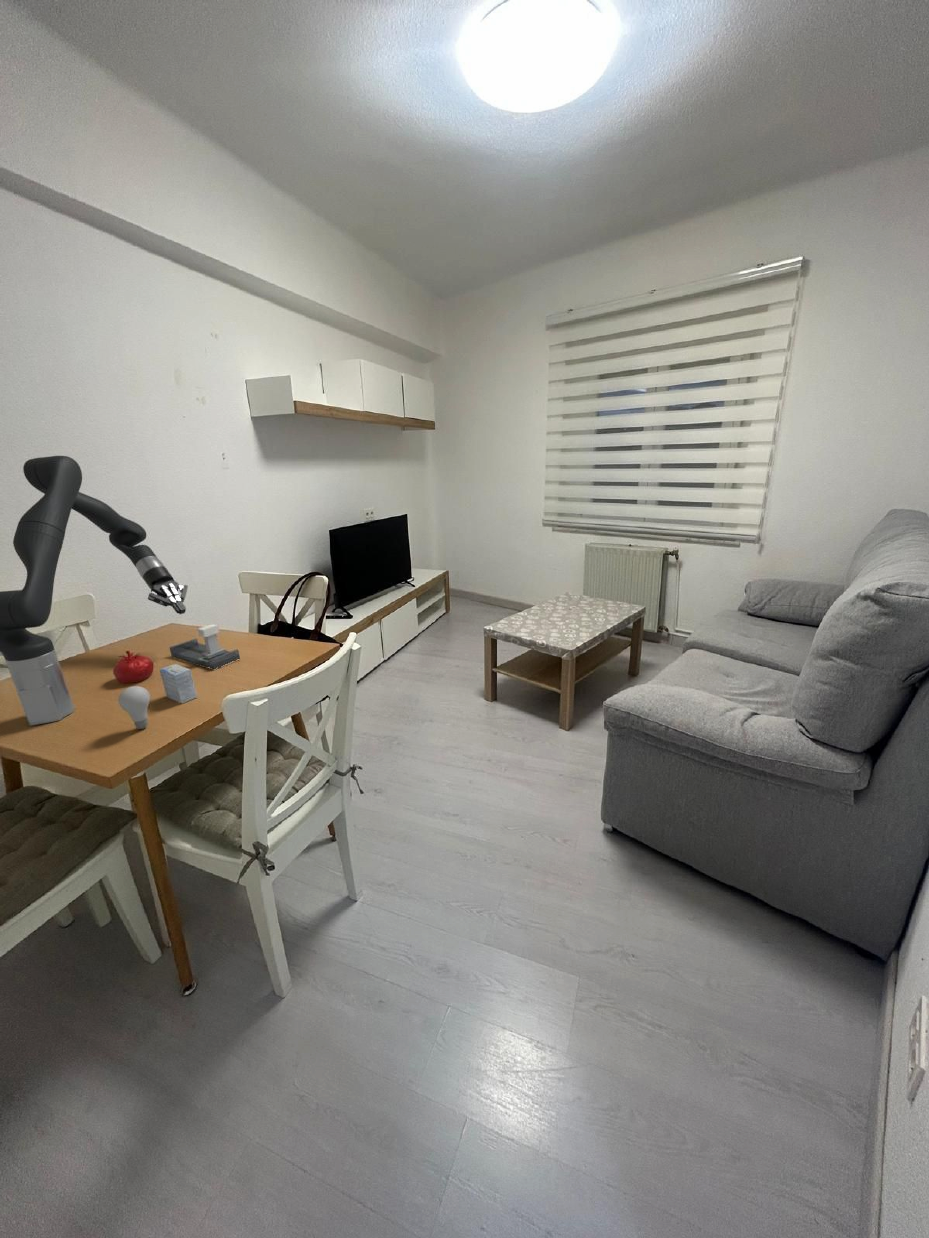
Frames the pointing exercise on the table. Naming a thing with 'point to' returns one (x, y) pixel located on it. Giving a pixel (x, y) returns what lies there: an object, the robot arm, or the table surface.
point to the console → (193, 651)
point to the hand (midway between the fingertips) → (182, 612)
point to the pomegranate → (133, 668)
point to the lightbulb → (136, 704)
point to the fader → (211, 641)
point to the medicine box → (178, 683)
